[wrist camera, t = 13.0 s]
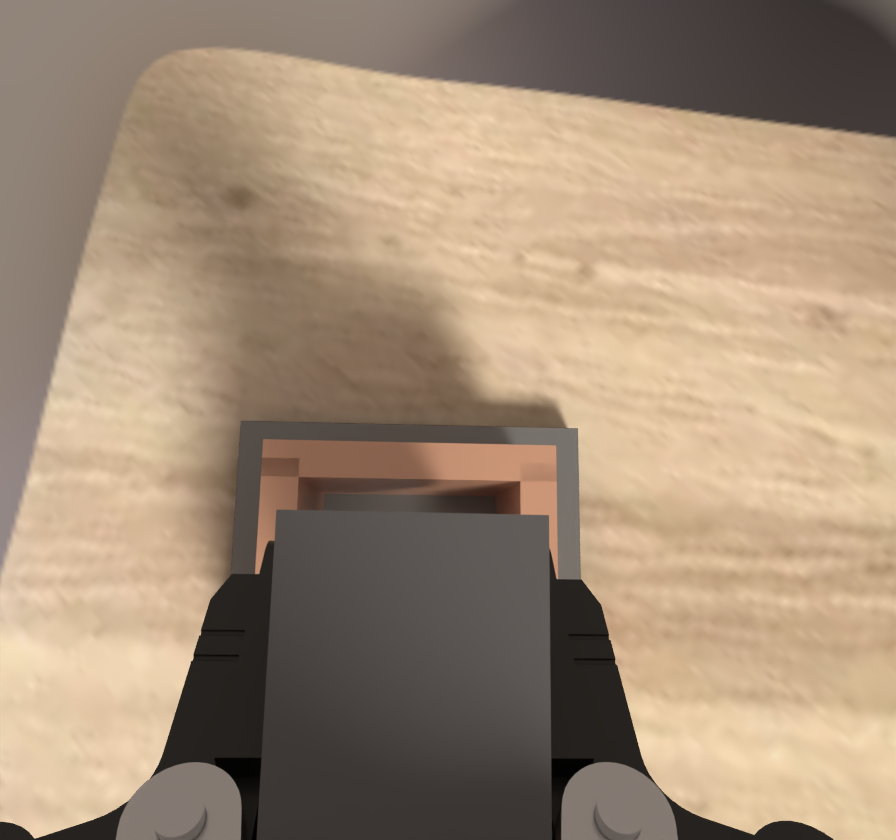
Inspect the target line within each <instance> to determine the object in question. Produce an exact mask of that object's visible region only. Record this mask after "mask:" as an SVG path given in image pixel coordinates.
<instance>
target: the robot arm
mask: <svg viewBox="0 0 896 840" xmlns="http://www.w3.org/2000/svg"><path fill="white" fill-rule="evenodd" d="M273 557H274V541H268V543H267V545H266V548H265V552H264V556H263V560H262V564H261V568H260V573H259V574H232V575H231V576H230V577H229V578H228V579H227V580H226V582H225V583H224V584H223V585H222V586H221V588H220V589H219V590H218V591H217V592H216V594H215V595H214V596H213V597H212V598H211V600H210V603H209V606H208V609H207V613H206V616H205V619H204V622H203V626H202V629H201V636H199V639H198V642H197V645H196V648H195V652H194V659H193V661H191V665H190V668H189V671H188V674H187V677H186V681H185V684H184V687H183V690H182V694H181V697H180V700H179V703H178V707H177V710H176V713H175V716H174V720H173V723H172V726H171V729H170V733H169V736H168V739H167V742H166V746H165V749H164V752H163V755H162V758H161V760H160V763H159V765H158V767H157V768H156V770H155V772H154V774H153V775H152V776H151V778H150V779H149V780H148V781H146V782H145V783H144V784H143V785H142V786H141V787H140V788H139V789H138V790H137V791H136V793H135V794H134V795H133V796H132V797H131V799H130V800H129V801H128V802H126V803H125V804H123V805H122V806H120V807H119V808H117V809H116V810H114V811H112V812H110V813H108V814H106V815H104V816H102V817H99V818H97V819H94V820H91V821H88V822H85V823H82V824H79V825H76V826H73V827H70V828H67V829H64V830H61V831H58V832H55V833H52V834H49V835H46V836H42V837H39V838H36V839H34V838H33V837H32V835H31V834H30V833H29V832H28V831H27V830H25V829H24V828H22V827H21V826H18V825H15V824H13V823H6V822H0V840H257V824H258V807H259V791H260V774H261V757H262V741H263V724H264V707H265V691H266V674H267V657H268V641H269V624H270V607H271V591H272V574H273ZM549 564H550V680H551V795H552V840H833V839H832V838H831V837H829V836H828V835H826V834H824V833H823V832H821V831H819V830H817V829H815V828H813V827H811V826H808V825H805V824H803V823H798V822H793V821H778V822H772V823H770V824H768V825H765V826H764V827H762V828H761V829H760V830H759V831H758V832H757V833H756V834H755V835H752V834H749V833H746V832H744V831H741V830H738V829H735V828H732V827H729V826H726V825H723V824H720V823H717V822H714V821H711V820H708V819H705V818H702V817H700V816H697V815H695V814H692V813H691V812H689V811H687V810H685V809H684V808H682V807H680V806H679V805H678V804H676V803H675V802H674V801H672V800H671V799H670V798H669V797H668V796H667V795H666V794H664V793H663V792H662V790H661V789H660V788H659V787H658V786H657V785H656V783H655V782H654V780H653V779H652V778H651V776H650V775H649V773H648V771H647V769H646V767H645V765H644V762H643V759H642V756H641V753H640V749H639V746H638V742H637V738H636V734H635V731H634V727H633V723H632V719H631V716H630V712H629V708H628V704H627V701H626V697H625V693H624V689H623V686H622V682H621V678H620V674H619V671H618V667H617V665H616V664H615V656H614V652H613V648H612V644H611V641H610V640H609V633H608V629H607V626H606V622H605V618H604V614H603V611H602V607H601V604H600V603H599V602H598V601H597V599H596V598H595V597H594V595H593V594H592V593H591V591H590V590H589V589H588V587H587V586H586V585H585V584H584V582H583V581H582V580H581V579H557V578H556V573H555V568H554V564H553V559H552V554H551V551H550V548H549Z"/></svg>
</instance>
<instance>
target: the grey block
mask: <svg viewBox="0 0 896 840" xmlns="http://www.w3.org/2000/svg"><path fill="white" fill-rule="evenodd" d="M257 840H552V795H551V680H550V564H549V515H520V514H471V513H423V512H374V511H325V510H276V524H275V541H274V557H273V574H272V591H271V607H270V624H269V641H268V657H267V674H266V691H265V707H264V724H263V741H262V757H261V774H260V791H259V807H258V824H257Z"/></svg>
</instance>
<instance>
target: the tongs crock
mask: <svg viewBox="0 0 896 840" xmlns="http://www.w3.org/2000/svg"><path fill="white" fill-rule="evenodd" d="M276 510H325V511H374V512H423V513H471V514H520V515H549V548H550V551H551V554H552V559H553V564H554V568H555V573H556V578H557V579H581V570H580V518H579V466H578V428H535V427H491V426H447V425H403V424H359V423H315V422H271V421H241V428H240V443H239V458H238V473H237V488H236V503H235V518H234V533H233V549H232V564H231V575H232V574H259V573H260V568H261V564H262V560H263V556H264V552H265V548H266V545H267V543H268V541H275V524H276Z"/></svg>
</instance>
